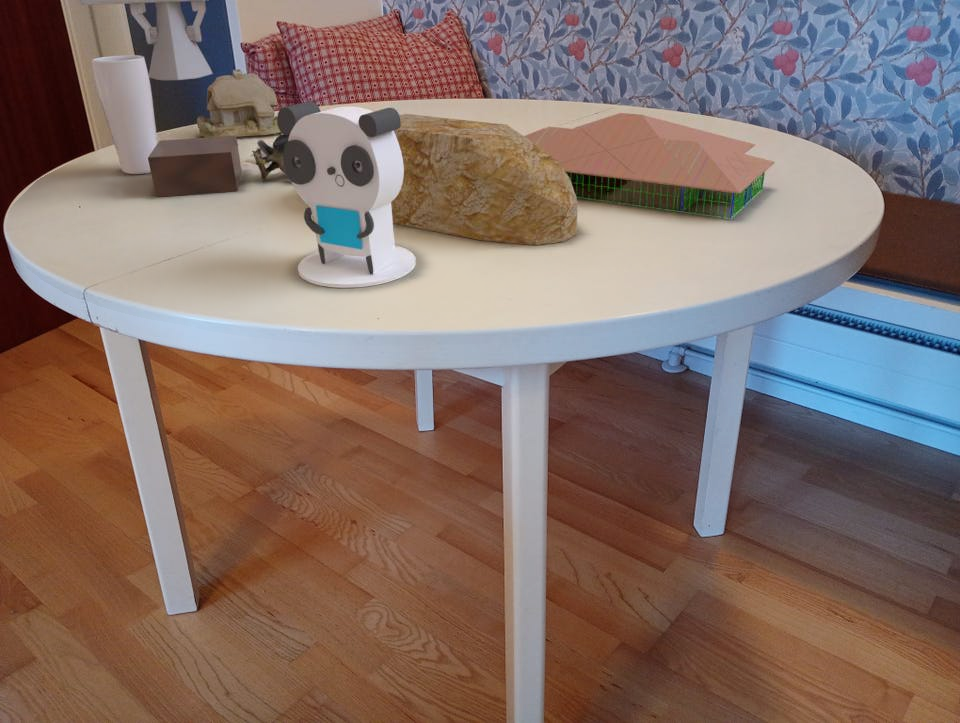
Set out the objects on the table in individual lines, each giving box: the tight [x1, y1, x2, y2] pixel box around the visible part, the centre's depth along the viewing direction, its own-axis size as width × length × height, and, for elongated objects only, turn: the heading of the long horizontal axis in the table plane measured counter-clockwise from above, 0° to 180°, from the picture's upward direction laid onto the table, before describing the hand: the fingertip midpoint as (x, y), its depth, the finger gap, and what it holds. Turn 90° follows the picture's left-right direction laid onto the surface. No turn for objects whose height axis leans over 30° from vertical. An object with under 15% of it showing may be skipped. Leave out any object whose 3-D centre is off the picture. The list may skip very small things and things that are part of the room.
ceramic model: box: [196, 68, 281, 138], centre depth 135 cm, size 14×11×10 cm
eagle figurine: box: [252, 134, 292, 184], centre depth 108 cm, size 8×7×9 cm
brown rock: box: [391, 113, 579, 246], centre depth 92 cm, size 36×11×10 cm, turn 56°
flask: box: [148, 2, 214, 81], centre depth 100 cm, size 7×7×10 cm
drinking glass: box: [91, 54, 159, 175], centre depth 112 cm, size 7×7×15 cm
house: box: [523, 112, 776, 220], centre depth 103 cm, size 23×33×8 cm
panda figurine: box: [276, 100, 417, 289], centre depth 77 cm, size 12×11×15 cm
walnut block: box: [148, 136, 243, 198], centre depth 107 cm, size 10×10×5 cm
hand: (174, 42), depth 100 cm, fingers closed on flask, 3 cm apart
